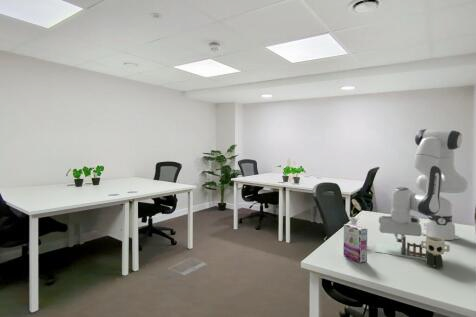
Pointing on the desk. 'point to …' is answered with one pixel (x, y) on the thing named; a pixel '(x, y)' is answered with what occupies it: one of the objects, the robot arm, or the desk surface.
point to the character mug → (435, 251)
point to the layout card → (397, 251)
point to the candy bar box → (355, 243)
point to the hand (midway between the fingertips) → (399, 242)
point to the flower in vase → (358, 207)
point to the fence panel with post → (413, 249)
